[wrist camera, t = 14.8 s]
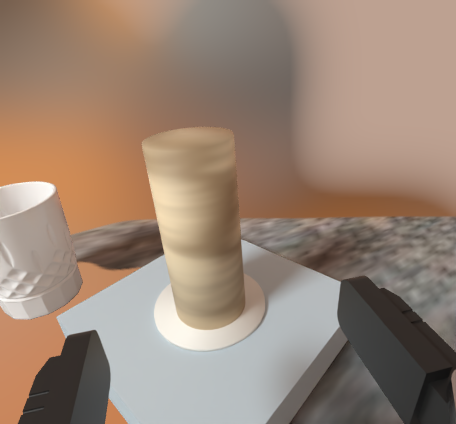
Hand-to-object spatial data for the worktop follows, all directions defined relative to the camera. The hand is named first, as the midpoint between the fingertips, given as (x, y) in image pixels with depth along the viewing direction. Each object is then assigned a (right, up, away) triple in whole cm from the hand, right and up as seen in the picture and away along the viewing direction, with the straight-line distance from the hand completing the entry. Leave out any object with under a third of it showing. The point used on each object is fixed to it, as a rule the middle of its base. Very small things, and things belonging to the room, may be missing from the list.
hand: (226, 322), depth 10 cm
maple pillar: (-1, -3, +12) cm, 13 cm away
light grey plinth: (-1, -6, +14) cm, 15 cm away
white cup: (-17, -4, +20) cm, 27 cm away
